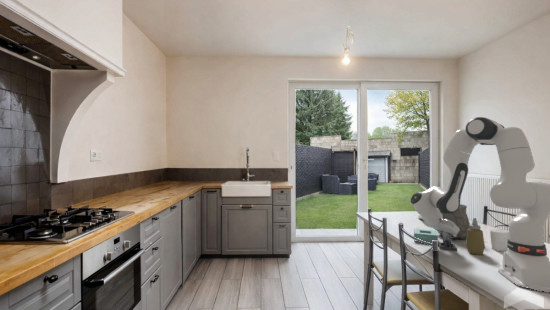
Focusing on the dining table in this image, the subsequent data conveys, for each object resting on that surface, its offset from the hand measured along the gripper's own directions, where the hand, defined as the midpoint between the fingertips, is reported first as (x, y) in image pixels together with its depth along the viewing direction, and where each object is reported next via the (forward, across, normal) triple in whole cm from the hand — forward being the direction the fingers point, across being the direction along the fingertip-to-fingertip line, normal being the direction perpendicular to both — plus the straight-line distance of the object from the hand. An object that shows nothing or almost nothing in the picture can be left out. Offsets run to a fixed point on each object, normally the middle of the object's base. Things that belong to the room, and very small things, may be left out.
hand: (447, 233), depth 153 cm
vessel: (+21, +16, -9) cm, 27 cm away
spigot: (+5, 0, +6) cm, 8 cm away
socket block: (+5, +15, +6) cm, 17 cm away
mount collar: (+5, 0, +6) cm, 8 cm away
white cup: (+22, -10, -11) cm, 27 cm away
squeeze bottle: (+10, -11, +1) cm, 15 cm away
